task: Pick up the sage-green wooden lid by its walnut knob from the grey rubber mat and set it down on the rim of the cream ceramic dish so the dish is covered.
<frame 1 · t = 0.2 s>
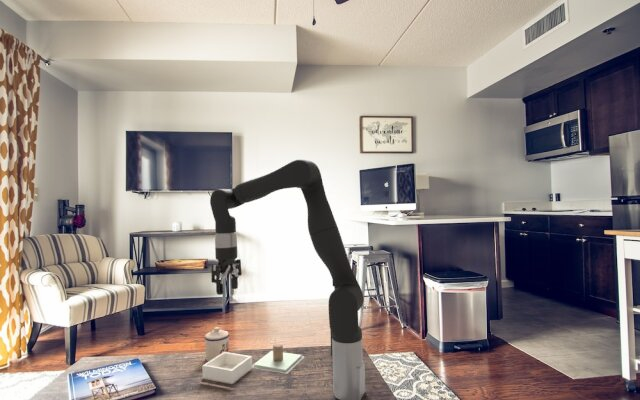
hand: (227, 291, 132), 28 cm above the table, fingers open, 8 cm apart
dish: (228, 375, 129), on the table
lid: (278, 361, 138), point 1 cm above the table, touching mat
mat: (278, 363, 138), on the table
teacup with lid: (219, 356, 145), on the table
wine bottle: (339, 355, 144), on the table
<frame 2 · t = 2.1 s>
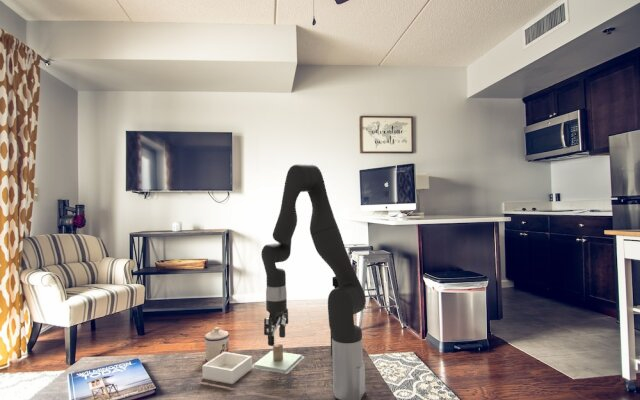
hand: (276, 341, 138), 8 cm above the table, fingers open, 8 cm apart
nothing on the table moved.
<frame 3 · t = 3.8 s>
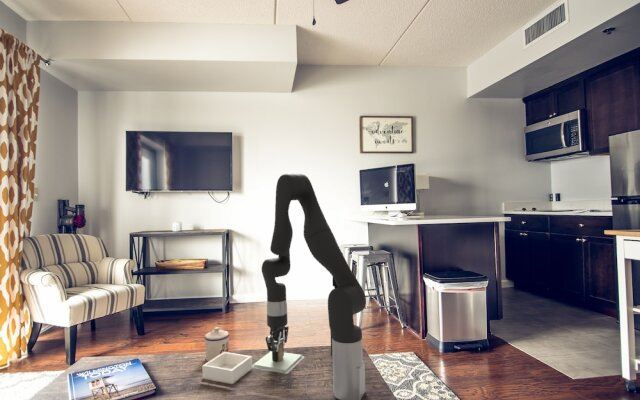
hand: (278, 358, 138), 2 cm above the table, fingers closed on lid, 3 cm apart
lid: (278, 361, 138), point 1 cm above the table, touching gripper, mat
everything else where it was.
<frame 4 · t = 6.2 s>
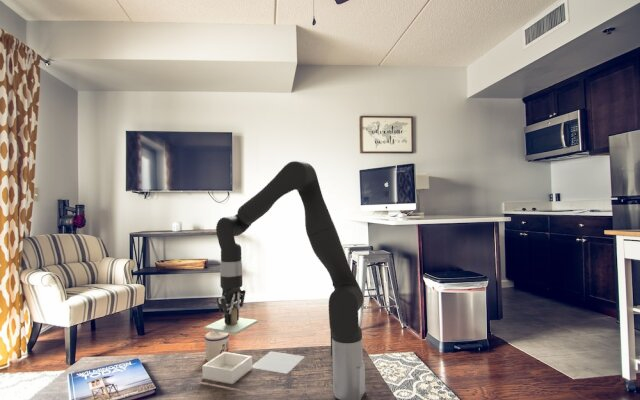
hand: (231, 322, 131), 18 cm above the table, fingers closed on lid, 3 cm apart
lid: (231, 325, 131), point 17 cm above the table, touching gripper
everything else where it was.
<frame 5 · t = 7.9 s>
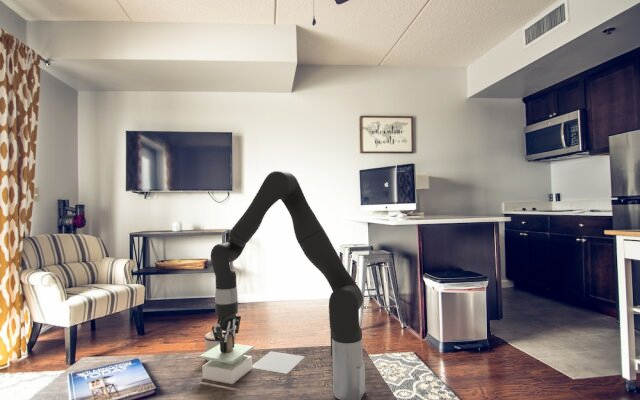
hand: (227, 349, 129), 9 cm above the table, fingers closed on lid, 3 cm apart
lid: (227, 353, 129), point 8 cm above the table, touching gripper
everything else where it was.
when the fingers open (8 cm above the table, at t = 8.9 s): lid drops 1 cm, resting on dish.
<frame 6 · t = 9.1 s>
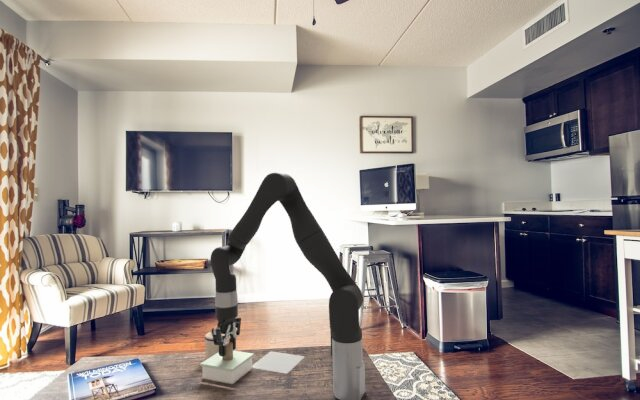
hand: (227, 352, 129), 8 cm above the table, fingers open, 5 cm apart
lid: (227, 360, 129), point 5 cm above the table, touching dish
everything else where it was.
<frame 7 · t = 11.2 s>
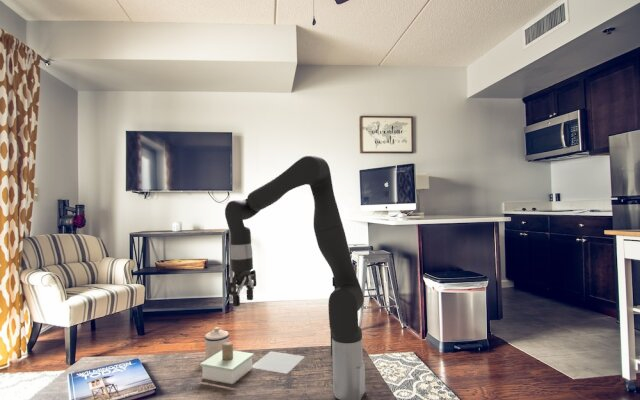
hand: (243, 302, 131), 24 cm above the table, fingers open, 8 cm apart
nothing on the table moved.
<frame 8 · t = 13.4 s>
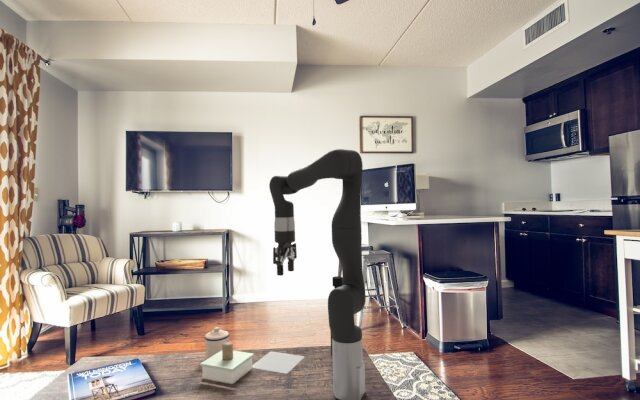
hand: (285, 273, 138), 33 cm above the table, fingers open, 8 cm apart
nothing on the table moved.
at the end: lid 0.0 cm from the dish (horizontally); lid 0.0 cm off-centre on the dish, point 5.0 cm above the dish's base; lid tilted 0° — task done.
